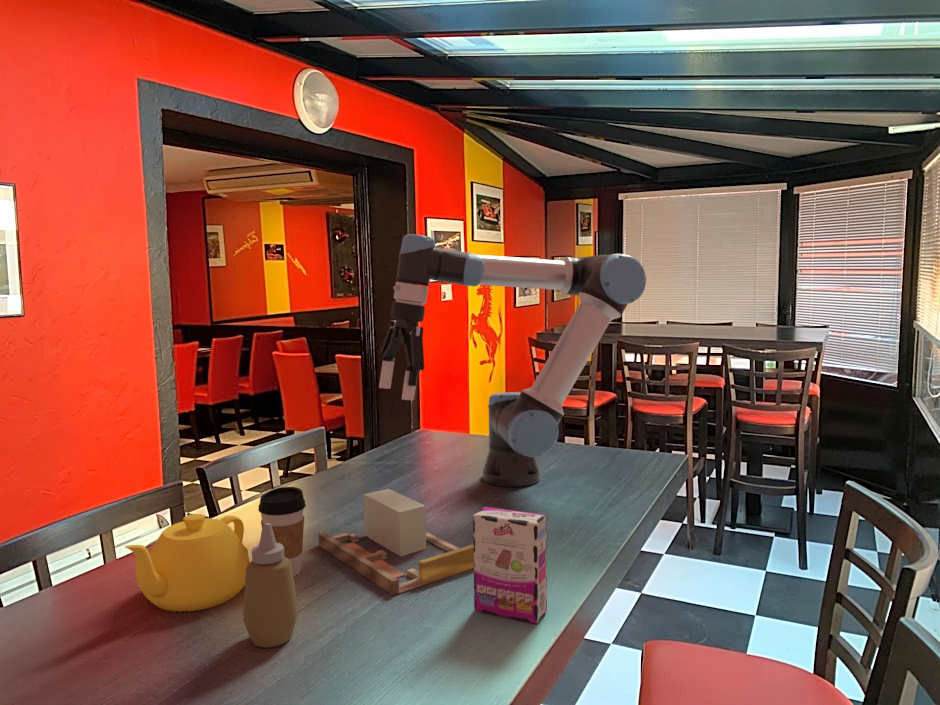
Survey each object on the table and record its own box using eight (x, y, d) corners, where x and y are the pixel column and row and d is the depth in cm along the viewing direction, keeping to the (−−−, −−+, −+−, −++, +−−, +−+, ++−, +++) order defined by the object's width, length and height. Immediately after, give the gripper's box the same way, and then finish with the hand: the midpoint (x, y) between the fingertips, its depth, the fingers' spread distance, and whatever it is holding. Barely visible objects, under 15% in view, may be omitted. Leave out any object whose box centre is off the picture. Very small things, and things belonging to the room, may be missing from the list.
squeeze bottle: (310, 631, 110) (305, 519, 107) (275, 657, 102) (269, 538, 100) (269, 621, 113) (263, 512, 111) (232, 645, 106) (226, 529, 104)
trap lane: (318, 545, 144) (318, 526, 143) (400, 523, 156) (400, 505, 155) (393, 595, 121) (392, 573, 121) (482, 565, 133) (481, 544, 133)
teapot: (169, 640, 108) (163, 553, 106) (93, 615, 116) (87, 534, 114) (282, 575, 130) (279, 503, 128) (212, 558, 138) (208, 490, 136)
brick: (365, 535, 149) (363, 494, 148) (389, 529, 152) (388, 488, 151) (400, 557, 138) (399, 512, 137) (426, 549, 141) (425, 505, 140)
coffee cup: (316, 565, 134) (313, 488, 132) (291, 584, 126) (288, 503, 124) (278, 559, 137) (275, 484, 135) (251, 578, 129) (247, 498, 127)
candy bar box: (548, 611, 115) (548, 514, 113) (537, 625, 111) (537, 524, 109) (485, 598, 120) (484, 504, 118) (472, 611, 116) (471, 514, 114)
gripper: (374, 296, 171) (361, 382, 173) (417, 305, 149) (402, 404, 151) (402, 300, 175) (389, 384, 176) (448, 309, 153) (433, 406, 155)
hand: (395, 393), depth 164 cm, fingers open, 13 cm apart
